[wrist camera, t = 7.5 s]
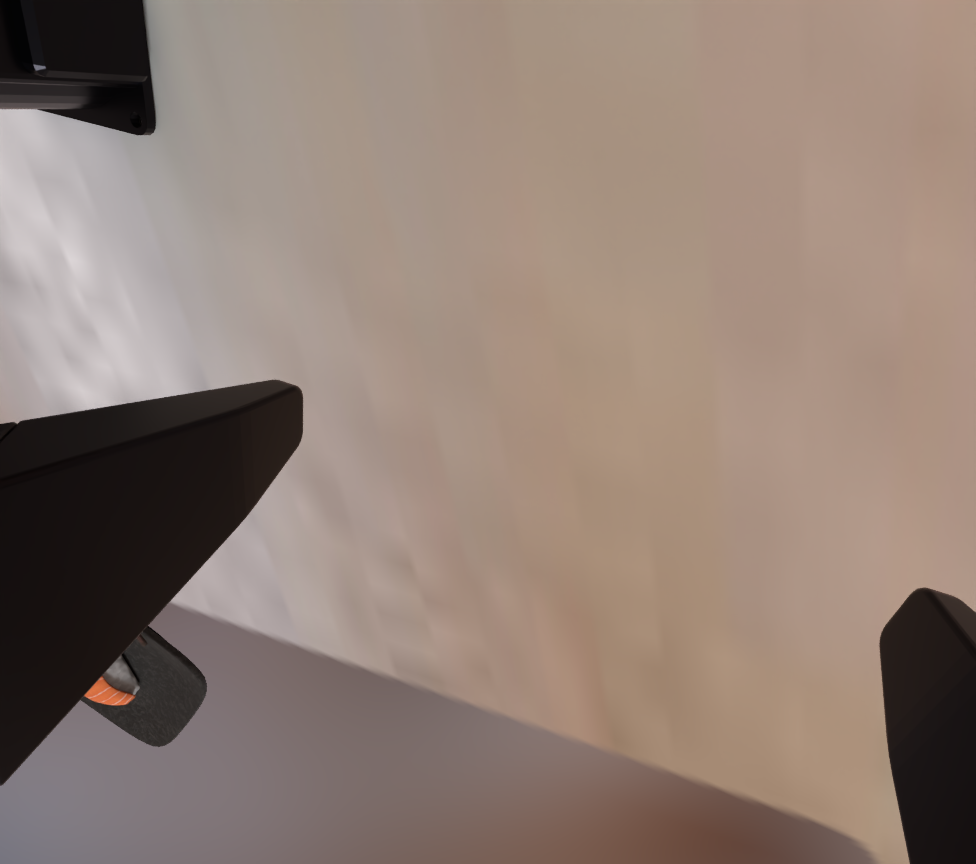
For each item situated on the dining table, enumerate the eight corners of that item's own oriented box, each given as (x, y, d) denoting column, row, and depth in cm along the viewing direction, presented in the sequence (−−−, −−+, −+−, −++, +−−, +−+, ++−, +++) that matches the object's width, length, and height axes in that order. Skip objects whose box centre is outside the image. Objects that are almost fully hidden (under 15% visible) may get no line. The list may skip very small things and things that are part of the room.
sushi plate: (-127, 516, 45) (-190, 547, 42) (-141, 183, 29) (-245, 192, 25) (178, 735, 47) (141, 781, 44) (328, 543, 31) (286, 593, 28)
